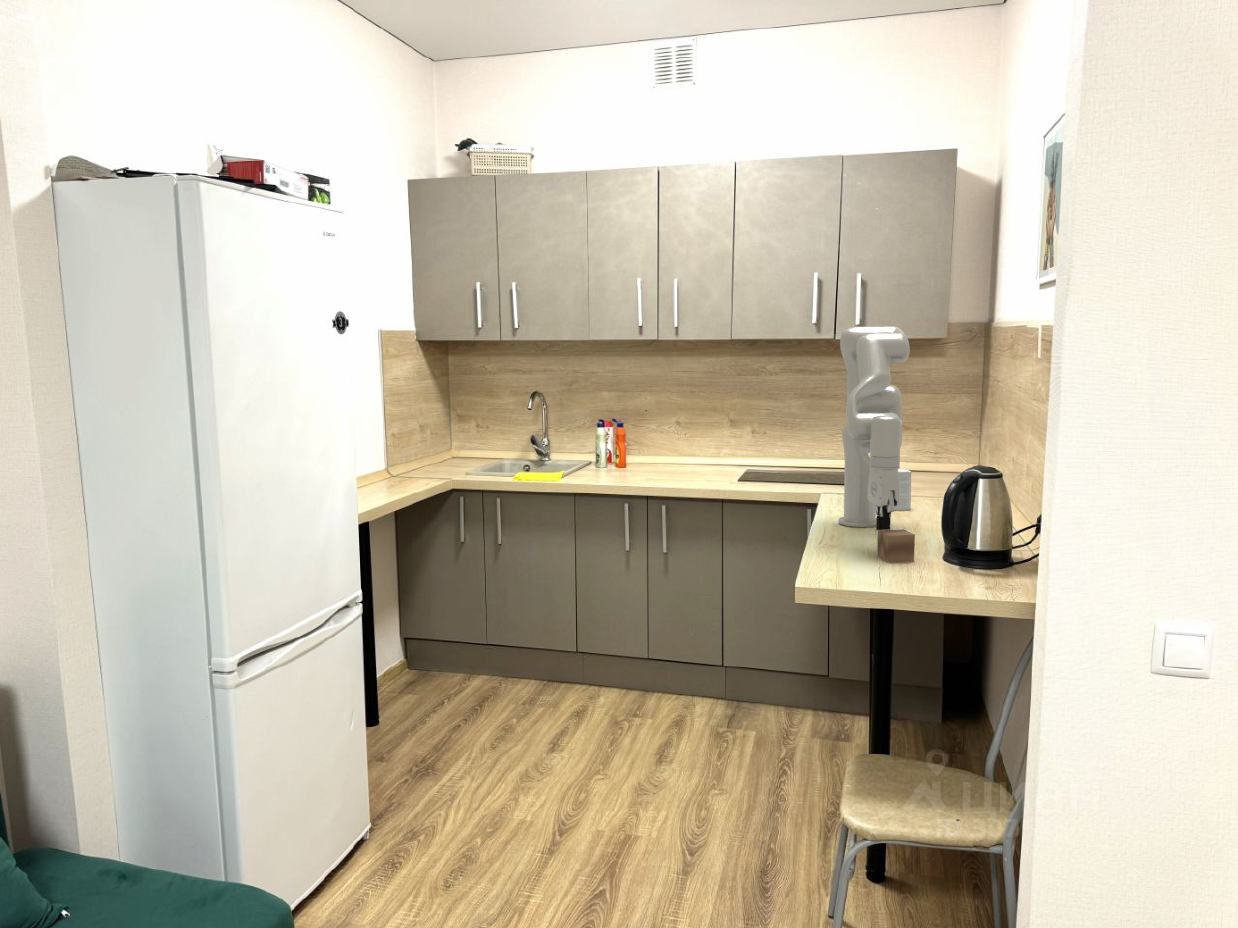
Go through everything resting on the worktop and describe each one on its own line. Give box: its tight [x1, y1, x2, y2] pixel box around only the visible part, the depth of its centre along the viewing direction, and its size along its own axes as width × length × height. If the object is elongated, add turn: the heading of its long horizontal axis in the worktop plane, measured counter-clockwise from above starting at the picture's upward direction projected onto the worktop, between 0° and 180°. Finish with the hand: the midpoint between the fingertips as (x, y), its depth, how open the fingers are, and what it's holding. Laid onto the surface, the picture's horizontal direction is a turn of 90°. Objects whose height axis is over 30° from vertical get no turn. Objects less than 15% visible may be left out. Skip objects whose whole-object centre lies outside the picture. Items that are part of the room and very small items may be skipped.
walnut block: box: [876, 528, 916, 563], centre depth 227 cm, size 7×7×7 cm
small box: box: [887, 468, 912, 511], centre depth 293 cm, size 8×6×13 cm
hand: (883, 530), depth 234 cm, fingers closed
